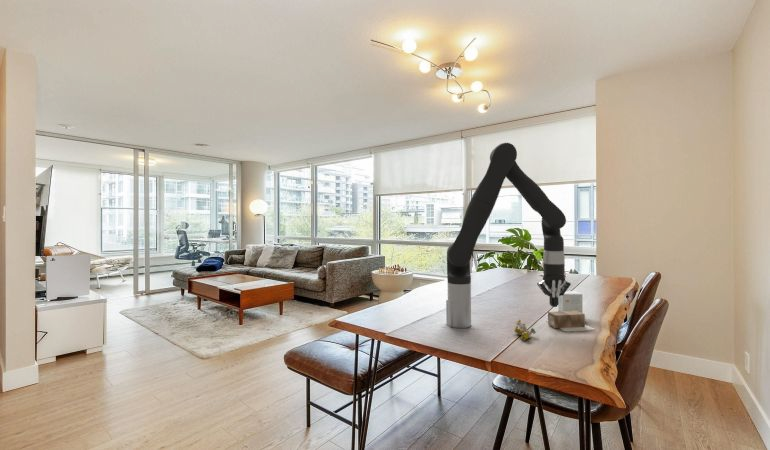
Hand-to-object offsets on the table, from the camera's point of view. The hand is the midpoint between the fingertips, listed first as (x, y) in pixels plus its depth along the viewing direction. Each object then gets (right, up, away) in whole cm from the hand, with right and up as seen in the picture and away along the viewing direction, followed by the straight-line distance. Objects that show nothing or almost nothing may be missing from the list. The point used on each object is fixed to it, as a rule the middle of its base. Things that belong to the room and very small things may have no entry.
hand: (554, 306), depth 138 cm
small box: (+13, -8, +14) cm, 21 cm away
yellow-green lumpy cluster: (-15, -9, -7) cm, 19 cm away
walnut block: (-1, -5, 0) cm, 5 cm away
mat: (+7, -8, +2) cm, 11 cm away
